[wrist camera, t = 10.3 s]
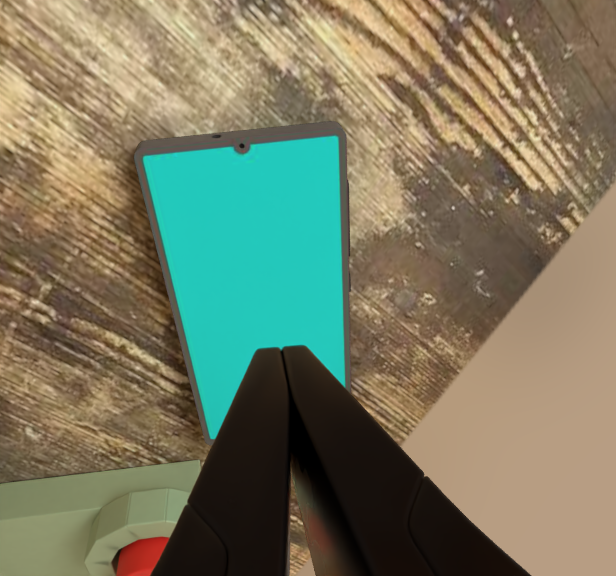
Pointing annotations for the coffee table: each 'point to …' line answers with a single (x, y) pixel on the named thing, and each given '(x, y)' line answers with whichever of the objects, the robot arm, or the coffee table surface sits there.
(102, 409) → the coffee table surface
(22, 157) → the coffee table surface
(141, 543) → the button
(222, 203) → the smartphone
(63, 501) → the button box
